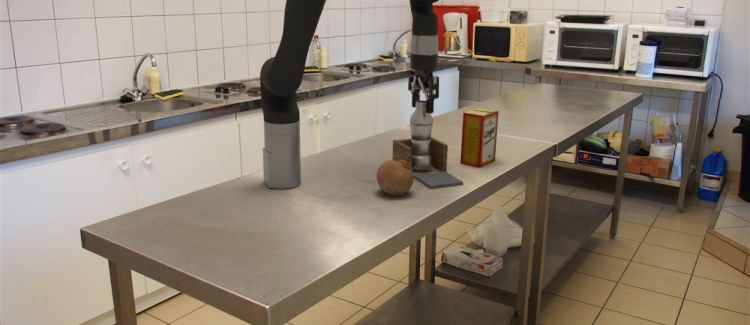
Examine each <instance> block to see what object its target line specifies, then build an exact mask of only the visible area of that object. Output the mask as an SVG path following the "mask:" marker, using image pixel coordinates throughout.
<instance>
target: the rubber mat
mask: <svg viewBox="0 0 750 325" xmlns="http://www.w3.org/2000/svg"><path fill="white" fill-rule="evenodd" d="M413 175H414V179H415V180H416V181H417V182H419V183H420V184H422V185H423V186H425V187H427V188H428V189H439V188H447V187H448V188H449V187H457V186H463V185H464V181H462V180H461V179H460V178H457V177H456V176H454V175H452V174H450V173H449V172H447V170H446V171H444V172H441V171H437V172H428V173H420V174H413Z"/></svg>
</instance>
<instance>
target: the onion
mask: <svg viewBox="0 0 750 325" xmlns="http://www.w3.org/2000/svg"><path fill="white" fill-rule="evenodd" d="M414 175H415V174H414V170H413V169H411V168H410V165H409V164H408V163H407V161H406V160H392V159H391V160H389V159H388V160H386V161H384V162H382V164H380V165H379V167H378V169H377V172H376V182H377V184H378V185H379V187H380V189H381V190H382V191H383V192H384V193H385V194H386V195H390V196H392V197H398V196H402V195H403V194H406V193H407V192H408V191H410V189H411V187H412V186H413V184H414V179H415V178H414Z"/></svg>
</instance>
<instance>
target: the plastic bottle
mask: <svg viewBox="0 0 750 325" xmlns="http://www.w3.org/2000/svg"><path fill="white" fill-rule="evenodd" d="M425 105H426V100H424V99H423V100H422V99H420V100H419V101H416V106H415V108H414V109H415V110H414V112H412V114H411V115H410V118H409V126H410V136H411V138H412V139H411V138H410V139H411V148H412V165H411V169H412V171H417V172H418V171H420V172H423V171H425V172H426V171H429V170H430V168H431V167H432V166H431V165H432V157H431V147H430V141H431V140H430V139H431V137H432V130H433V124H434V119H433V115H432V113H429V114H427V113H426V112H425Z"/></svg>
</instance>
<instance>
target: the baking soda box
mask: <svg viewBox="0 0 750 325" xmlns="http://www.w3.org/2000/svg"><path fill="white" fill-rule="evenodd" d="M499 113H500V112H499V110H495V109H489V108H483V107H477V108H474V109H471V110H468V111H465V112H463V113H462V128H461V149H460V159H459V161H460V162H459V163H460V165H462V166H463V165H464V166H468V167H473V168H477V169H480V168H483V167H485V166H487V165H490V164H492V163H495V162H496V153H497V136H498V124H499Z"/></svg>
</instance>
